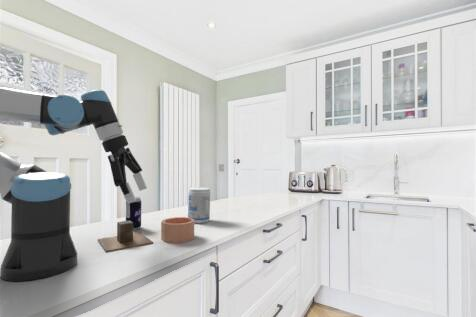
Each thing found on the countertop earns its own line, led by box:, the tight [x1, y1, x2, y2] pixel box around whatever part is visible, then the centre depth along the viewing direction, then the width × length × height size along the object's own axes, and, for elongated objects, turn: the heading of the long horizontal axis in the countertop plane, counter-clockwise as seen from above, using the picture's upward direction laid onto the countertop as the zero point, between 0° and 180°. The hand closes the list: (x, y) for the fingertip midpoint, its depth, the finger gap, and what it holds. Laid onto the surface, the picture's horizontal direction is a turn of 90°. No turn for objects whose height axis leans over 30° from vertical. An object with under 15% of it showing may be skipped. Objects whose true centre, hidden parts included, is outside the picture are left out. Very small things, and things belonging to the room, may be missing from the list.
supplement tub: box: [187, 186, 211, 224], centre depth 116 cm, size 10×10×15 cm
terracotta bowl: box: [160, 216, 195, 244], centre depth 91 cm, size 11×11×6 cm
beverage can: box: [125, 196, 142, 231], centre depth 103 cm, size 6×6×12 cm
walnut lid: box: [97, 220, 154, 253], centre depth 86 cm, size 14×14×7 cm
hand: (138, 195), depth 91 cm, fingers open, 13 cm apart
